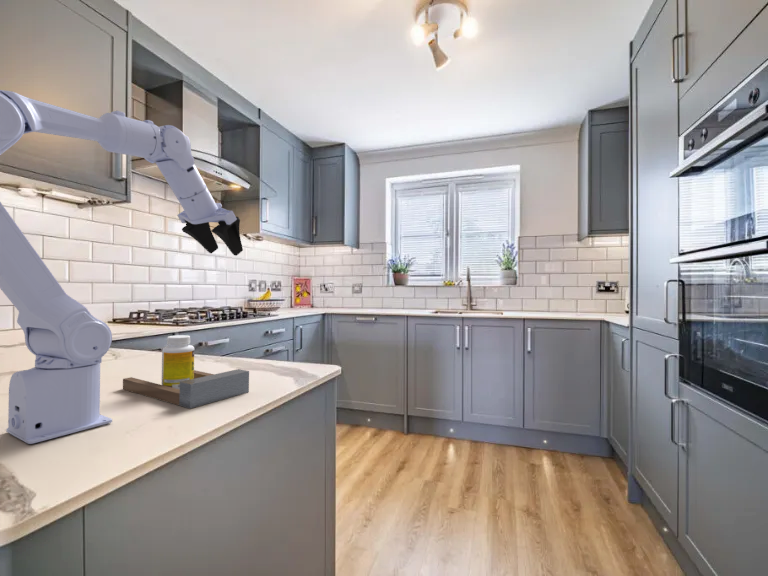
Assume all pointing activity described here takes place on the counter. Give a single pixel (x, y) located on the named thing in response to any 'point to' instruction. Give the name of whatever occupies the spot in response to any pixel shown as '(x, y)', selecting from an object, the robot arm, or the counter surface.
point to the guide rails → (156, 388)
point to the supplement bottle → (177, 361)
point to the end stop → (213, 388)
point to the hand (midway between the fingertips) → (226, 251)
